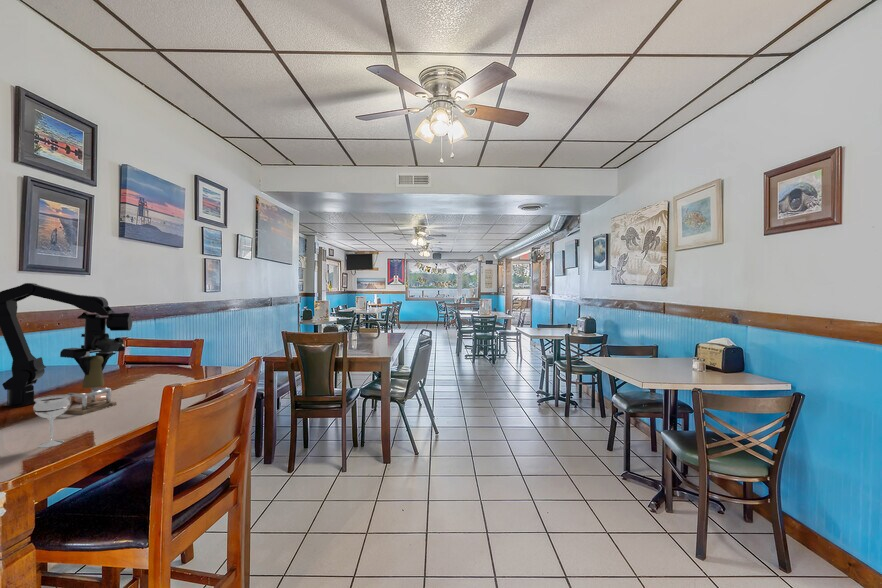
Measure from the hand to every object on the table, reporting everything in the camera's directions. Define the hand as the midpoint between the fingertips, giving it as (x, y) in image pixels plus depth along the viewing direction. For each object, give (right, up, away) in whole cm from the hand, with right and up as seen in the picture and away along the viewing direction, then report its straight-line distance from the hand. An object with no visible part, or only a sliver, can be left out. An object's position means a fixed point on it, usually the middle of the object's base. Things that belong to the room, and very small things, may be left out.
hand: (93, 373), depth 142 cm
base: (+8, -10, -11) cm, 17 cm away
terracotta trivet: (0, -9, 0) cm, 9 cm away
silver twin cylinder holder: (+8, -10, -11) cm, 17 cm away
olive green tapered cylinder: (0, -5, 0) cm, 5 cm away
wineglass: (+26, -10, -41) cm, 49 cm away
